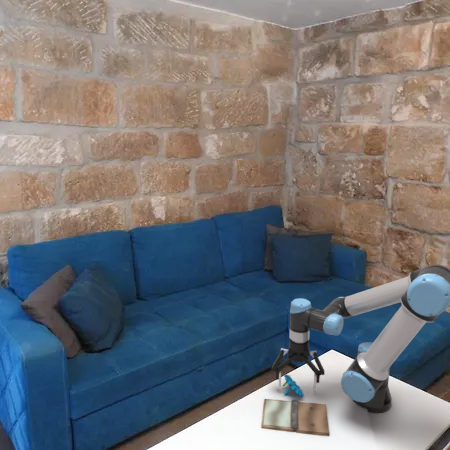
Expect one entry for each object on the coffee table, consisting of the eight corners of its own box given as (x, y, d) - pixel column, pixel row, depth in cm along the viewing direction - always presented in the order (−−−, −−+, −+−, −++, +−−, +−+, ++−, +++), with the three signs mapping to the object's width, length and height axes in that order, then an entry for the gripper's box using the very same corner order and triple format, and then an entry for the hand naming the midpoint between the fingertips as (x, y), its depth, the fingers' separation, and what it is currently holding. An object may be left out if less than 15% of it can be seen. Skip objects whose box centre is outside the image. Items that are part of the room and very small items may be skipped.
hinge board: (325, 406, 163) (326, 401, 162) (329, 436, 148) (329, 430, 147) (264, 401, 166) (264, 396, 165) (261, 429, 151) (261, 423, 150)
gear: (308, 398, 166) (291, 383, 163) (297, 409, 166) (280, 394, 164) (299, 382, 177) (283, 367, 174) (288, 391, 177) (272, 377, 174)
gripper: (331, 336, 167) (328, 385, 172) (266, 331, 171) (265, 379, 176) (333, 346, 160) (330, 396, 165) (265, 341, 164) (264, 390, 169)
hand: (297, 387), depth 171 cm, fingers open, 13 cm apart
